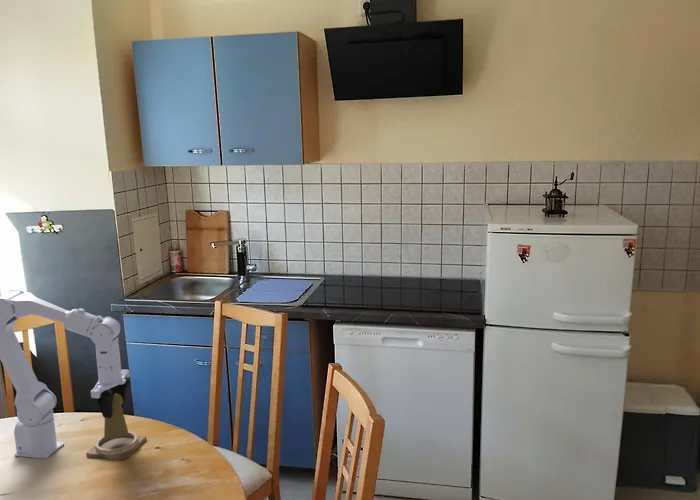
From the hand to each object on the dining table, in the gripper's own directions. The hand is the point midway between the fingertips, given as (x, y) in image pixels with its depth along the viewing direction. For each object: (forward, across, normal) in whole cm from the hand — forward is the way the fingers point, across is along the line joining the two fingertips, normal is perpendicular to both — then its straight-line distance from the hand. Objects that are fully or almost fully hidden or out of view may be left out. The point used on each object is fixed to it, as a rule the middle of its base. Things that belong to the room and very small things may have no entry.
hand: (113, 412), depth 159 cm
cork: (+6, 0, 0) cm, 6 cm away
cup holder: (+10, 0, 0) cm, 10 cm away
